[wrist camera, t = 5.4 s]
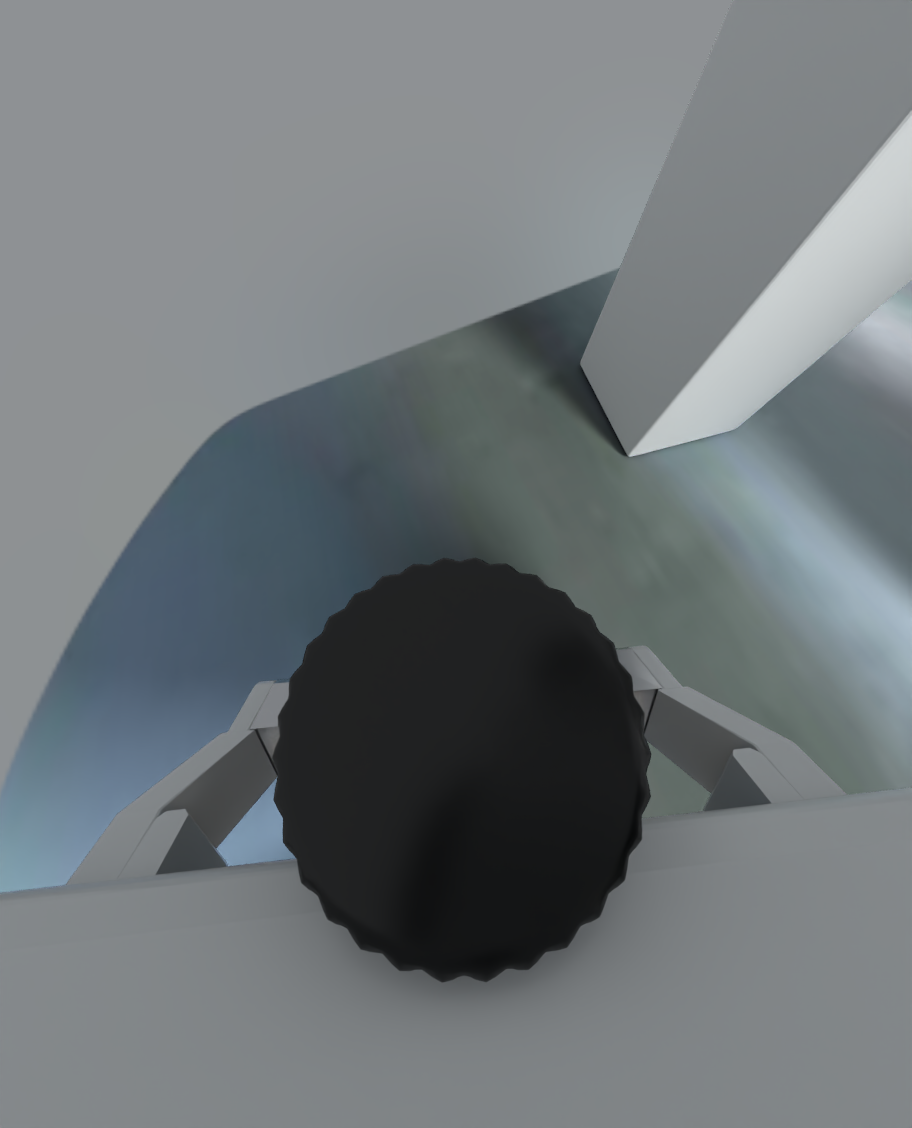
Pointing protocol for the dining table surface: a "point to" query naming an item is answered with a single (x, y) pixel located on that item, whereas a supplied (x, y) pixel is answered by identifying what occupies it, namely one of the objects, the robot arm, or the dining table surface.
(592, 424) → the dining table surface
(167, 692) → the dining table surface
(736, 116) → the milk carton
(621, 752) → the supplement bottle
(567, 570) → the dining table surface
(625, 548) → the dining table surface
